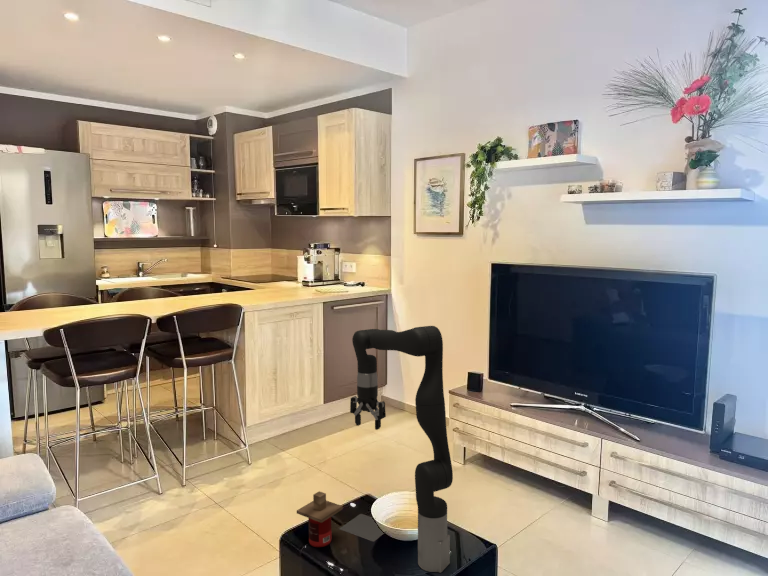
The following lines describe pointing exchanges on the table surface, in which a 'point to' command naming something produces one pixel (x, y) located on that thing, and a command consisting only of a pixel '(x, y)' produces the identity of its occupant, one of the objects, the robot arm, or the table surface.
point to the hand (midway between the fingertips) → (367, 427)
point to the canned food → (320, 532)
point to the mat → (363, 528)
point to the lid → (319, 508)
